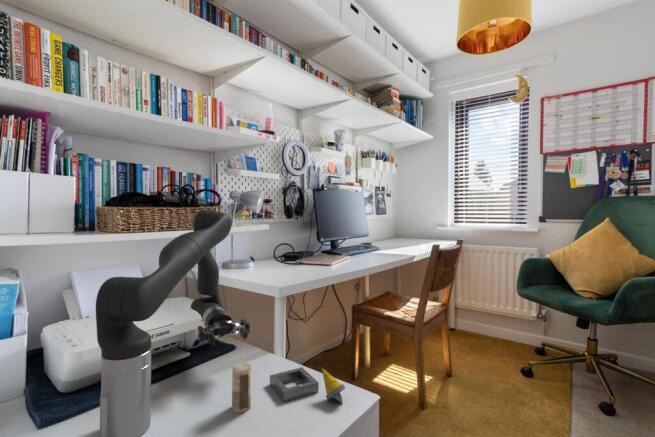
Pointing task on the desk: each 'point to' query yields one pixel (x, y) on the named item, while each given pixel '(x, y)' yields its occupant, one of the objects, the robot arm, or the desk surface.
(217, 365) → the desk surface
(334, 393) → the yellow spinning top
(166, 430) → the desk surface
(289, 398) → the grey square tray
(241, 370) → the birch shaft
